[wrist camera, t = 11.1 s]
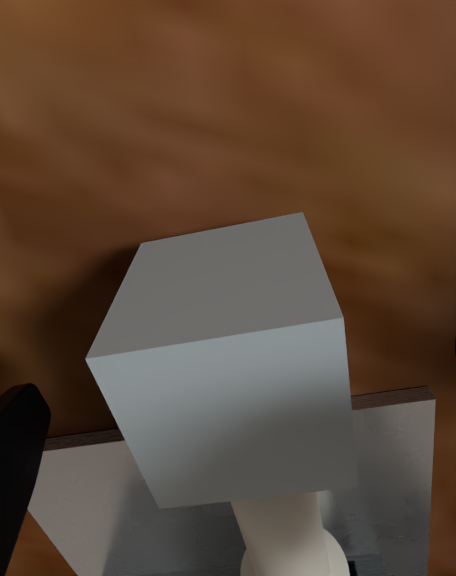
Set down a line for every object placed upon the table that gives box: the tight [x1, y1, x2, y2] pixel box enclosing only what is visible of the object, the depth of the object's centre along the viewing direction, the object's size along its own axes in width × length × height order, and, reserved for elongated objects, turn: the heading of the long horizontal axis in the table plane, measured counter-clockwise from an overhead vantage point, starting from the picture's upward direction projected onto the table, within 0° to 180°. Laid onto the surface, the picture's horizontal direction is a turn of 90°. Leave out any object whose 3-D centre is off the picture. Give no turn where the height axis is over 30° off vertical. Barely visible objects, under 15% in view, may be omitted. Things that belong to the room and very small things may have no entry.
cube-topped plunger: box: [85, 212, 359, 576], centre depth 13 cm, size 20×4×4 cm, turn 12°
